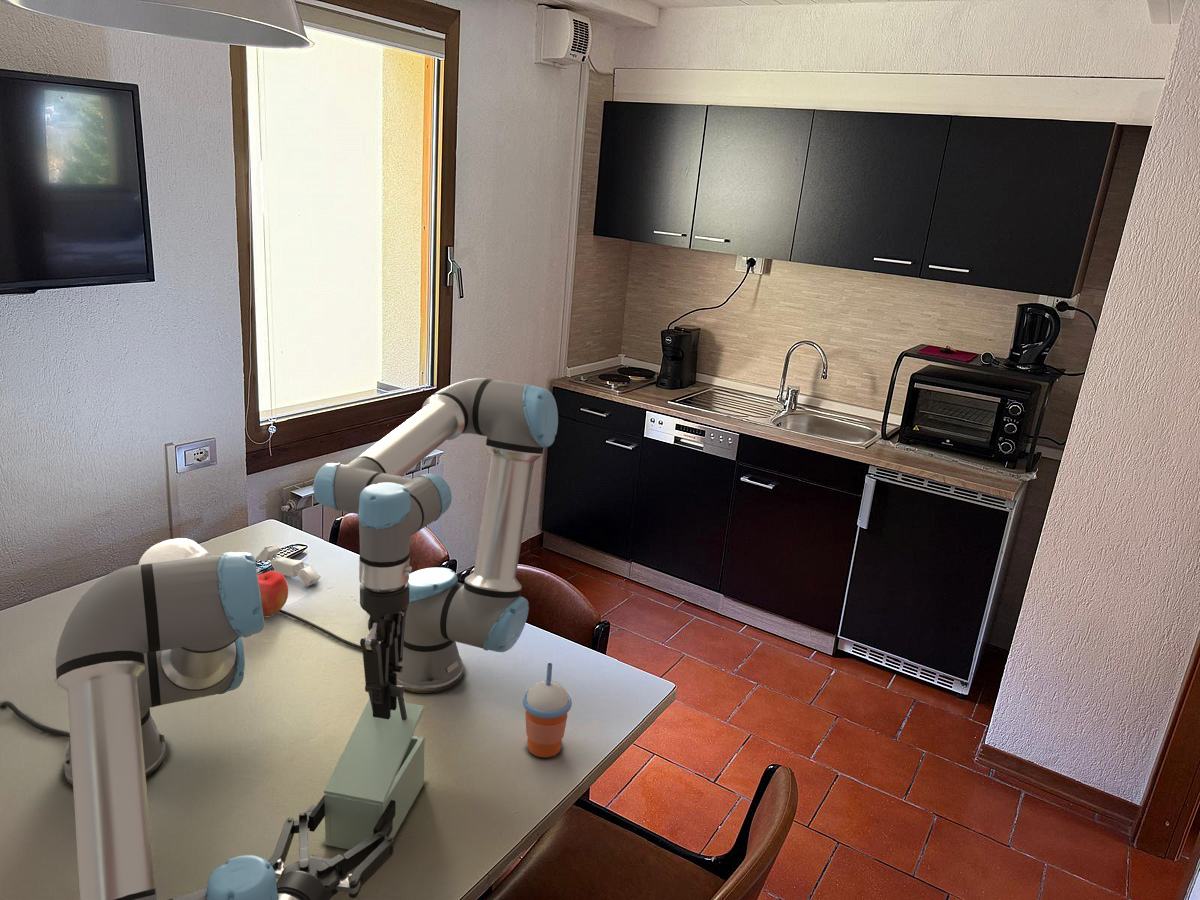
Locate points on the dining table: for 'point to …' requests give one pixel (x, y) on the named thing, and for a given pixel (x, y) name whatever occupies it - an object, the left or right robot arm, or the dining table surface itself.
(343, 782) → the lid
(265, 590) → the apple
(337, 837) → the chest
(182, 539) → the skull
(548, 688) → the cup with straw
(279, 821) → the dining table surface
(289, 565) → the white long bent piece
